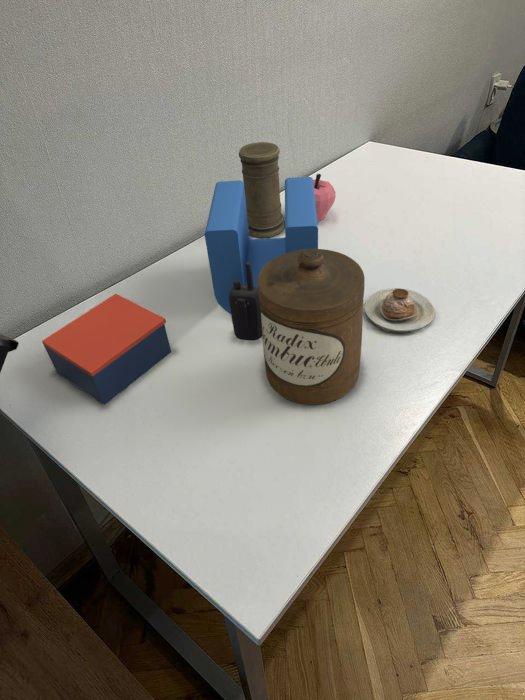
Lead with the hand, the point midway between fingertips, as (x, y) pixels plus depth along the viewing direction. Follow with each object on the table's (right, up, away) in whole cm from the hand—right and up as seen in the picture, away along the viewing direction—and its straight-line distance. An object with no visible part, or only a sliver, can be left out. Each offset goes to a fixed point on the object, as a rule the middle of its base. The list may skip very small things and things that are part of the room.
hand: (16, 344), depth 69 cm
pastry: (+58, +6, +21) cm, 62 cm away
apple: (+46, +30, +48) cm, 73 cm away
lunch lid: (+9, +2, +12) cm, 15 cm away
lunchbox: (+9, -3, +16) cm, 19 cm away
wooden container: (+42, -4, +12) cm, 43 cm away
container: (+34, +27, +46) cm, 64 cm away
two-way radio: (+31, +1, +19) cm, 36 cm away
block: (+35, +11, +29) cm, 47 cm away
